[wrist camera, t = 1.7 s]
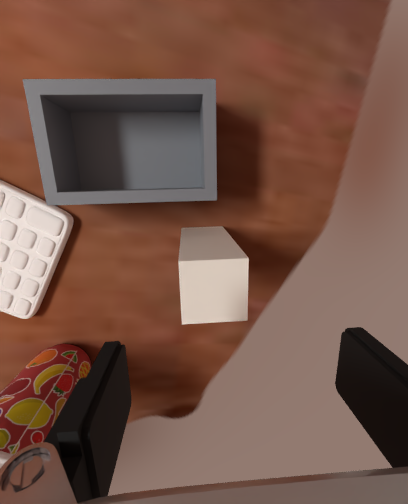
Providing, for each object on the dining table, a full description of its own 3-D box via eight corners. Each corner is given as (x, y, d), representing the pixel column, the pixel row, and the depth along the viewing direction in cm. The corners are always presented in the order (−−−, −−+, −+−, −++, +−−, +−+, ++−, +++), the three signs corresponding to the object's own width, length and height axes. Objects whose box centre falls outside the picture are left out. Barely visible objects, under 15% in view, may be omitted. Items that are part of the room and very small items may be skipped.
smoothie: (87, 399, 33) (-53, 711, 13) (22, 377, 31) (-243, 694, 12) (113, 348, 31) (-7, 624, 12) (45, 322, 29) (-222, 590, 10)
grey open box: (59, 102, 23) (22, 79, 18) (209, 101, 24) (215, 78, 19) (75, 200, 26) (46, 205, 21) (210, 196, 27) (216, 200, 21)
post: (181, 227, 27) (178, 261, 16) (222, 226, 28) (248, 258, 16) (183, 267, 29) (181, 324, 17) (222, 265, 29) (247, 320, 17)
